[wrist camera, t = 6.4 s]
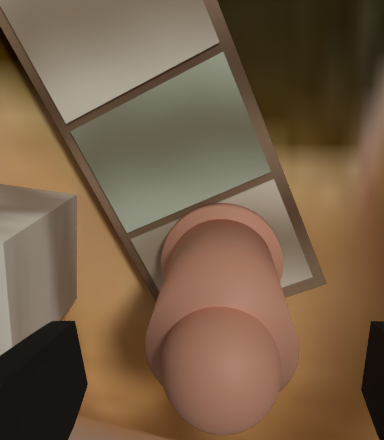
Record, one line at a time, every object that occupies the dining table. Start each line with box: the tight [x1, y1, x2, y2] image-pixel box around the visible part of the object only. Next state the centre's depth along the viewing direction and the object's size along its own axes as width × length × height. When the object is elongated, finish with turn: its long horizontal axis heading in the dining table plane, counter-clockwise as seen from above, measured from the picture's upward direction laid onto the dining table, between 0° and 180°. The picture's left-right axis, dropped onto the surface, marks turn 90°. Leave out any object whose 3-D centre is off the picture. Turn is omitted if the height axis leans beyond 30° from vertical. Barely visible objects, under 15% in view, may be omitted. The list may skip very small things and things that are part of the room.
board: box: [0, 0, 326, 302], centre depth 12 cm, size 19×7×1 cm, turn 25°
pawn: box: [145, 203, 299, 435], centre depth 10 cm, size 5×5×7 cm
